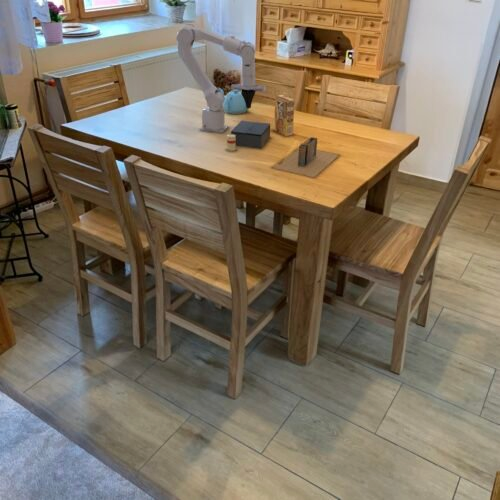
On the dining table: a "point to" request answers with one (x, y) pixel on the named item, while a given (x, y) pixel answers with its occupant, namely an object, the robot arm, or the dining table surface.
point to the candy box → (284, 115)
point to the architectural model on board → (307, 159)
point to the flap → (243, 127)
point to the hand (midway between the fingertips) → (248, 107)
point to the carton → (254, 136)
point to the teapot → (234, 102)
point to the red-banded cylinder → (231, 142)
